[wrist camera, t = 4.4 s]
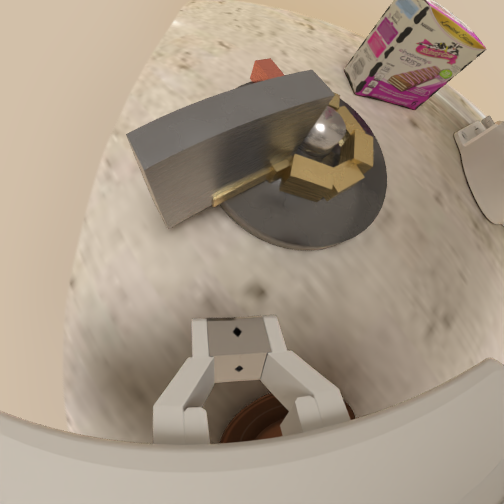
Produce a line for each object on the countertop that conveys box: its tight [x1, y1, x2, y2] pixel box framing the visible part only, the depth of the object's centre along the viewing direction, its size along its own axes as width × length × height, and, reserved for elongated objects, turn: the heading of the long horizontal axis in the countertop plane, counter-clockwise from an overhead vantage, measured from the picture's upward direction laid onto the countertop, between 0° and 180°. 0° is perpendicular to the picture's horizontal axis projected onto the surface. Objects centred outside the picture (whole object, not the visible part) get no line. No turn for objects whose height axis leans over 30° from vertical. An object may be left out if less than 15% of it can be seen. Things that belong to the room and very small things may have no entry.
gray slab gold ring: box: [126, 70, 373, 229], centre depth 16 cm, size 18×10×9 cm, turn 122°
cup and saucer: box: [220, 393, 355, 443], centre depth 16 cm, size 12×12×6 cm
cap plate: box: [220, 58, 387, 250], centre depth 21 cm, size 17×17×6 cm
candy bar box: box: [344, 0, 486, 110], centre depth 20 cm, size 11×5×16 cm, turn 97°
